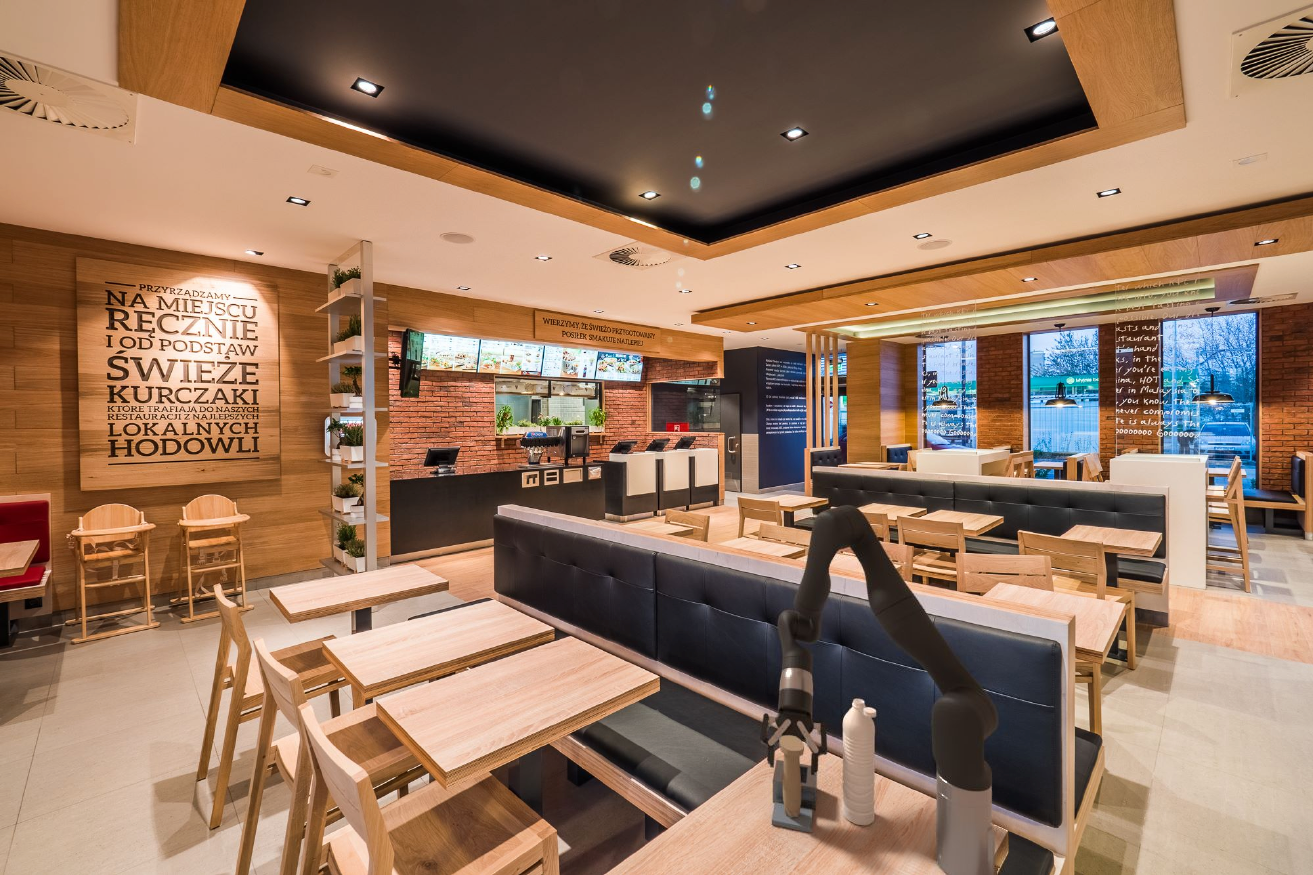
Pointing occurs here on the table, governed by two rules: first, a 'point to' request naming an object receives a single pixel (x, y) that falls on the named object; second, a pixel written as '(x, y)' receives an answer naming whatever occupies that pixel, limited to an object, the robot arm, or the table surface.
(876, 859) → the table surface
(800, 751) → the handle
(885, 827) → the table surface
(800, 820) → the rubber mat
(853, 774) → the water bottle
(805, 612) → the robot arm
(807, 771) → the socket block
